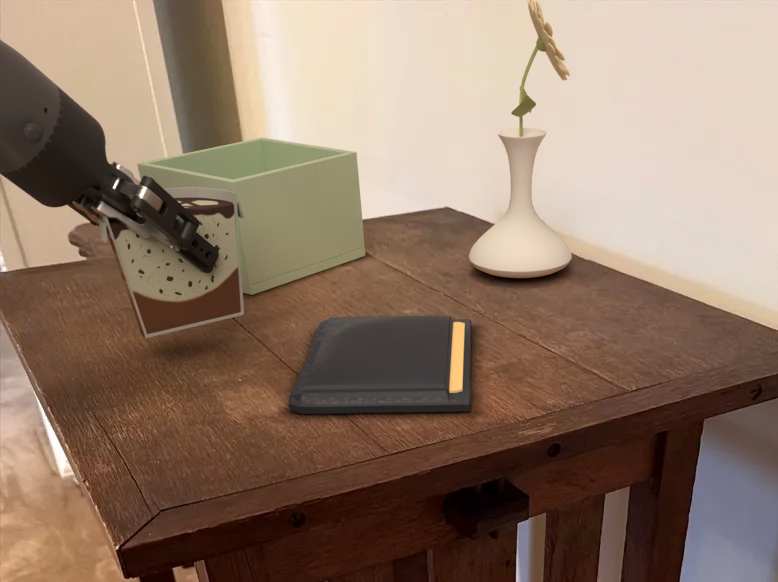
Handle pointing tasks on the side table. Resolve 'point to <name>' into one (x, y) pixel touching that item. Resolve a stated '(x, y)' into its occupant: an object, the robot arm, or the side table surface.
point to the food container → (182, 266)
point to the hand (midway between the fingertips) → (185, 255)
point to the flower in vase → (524, 190)
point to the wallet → (386, 366)
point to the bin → (279, 204)
